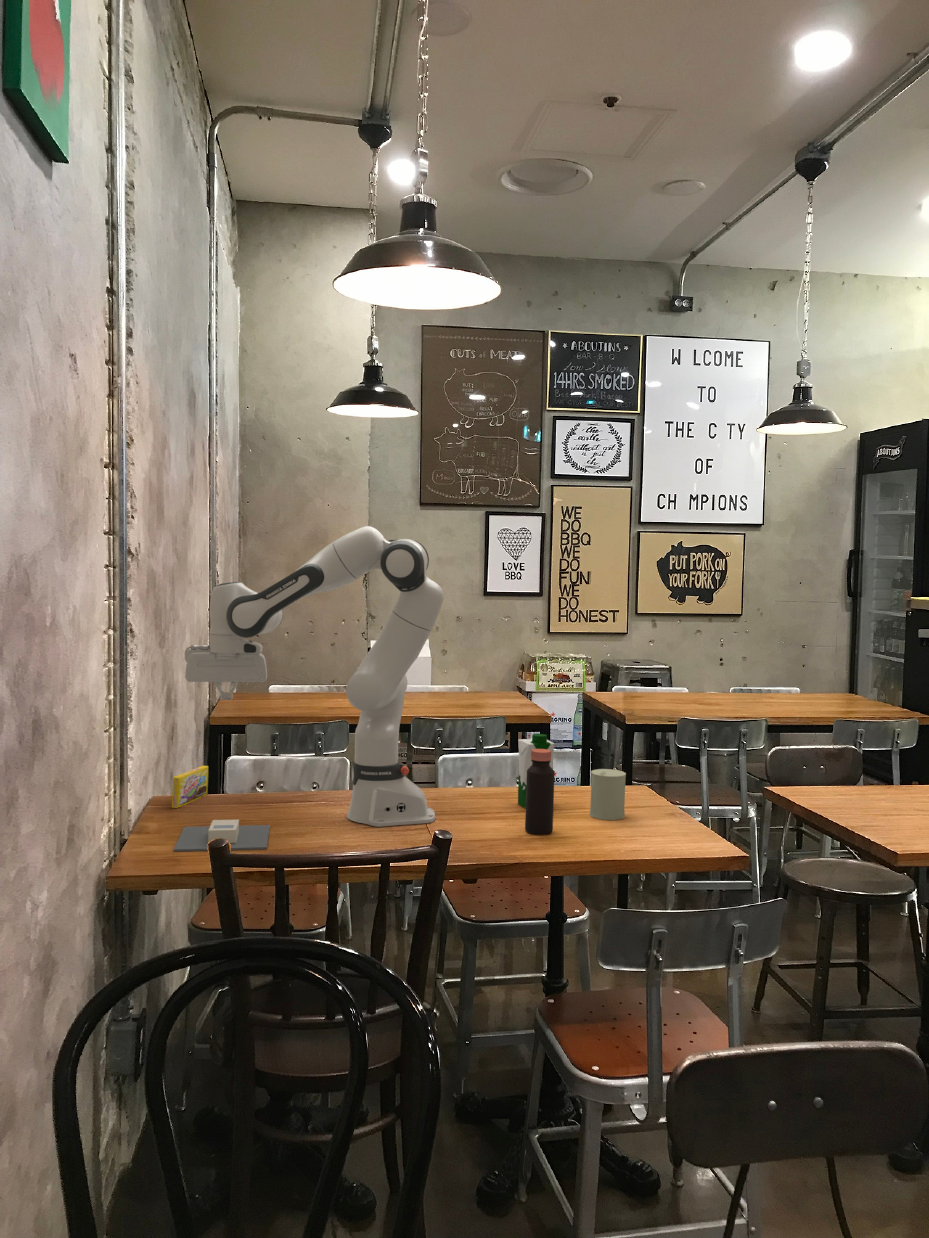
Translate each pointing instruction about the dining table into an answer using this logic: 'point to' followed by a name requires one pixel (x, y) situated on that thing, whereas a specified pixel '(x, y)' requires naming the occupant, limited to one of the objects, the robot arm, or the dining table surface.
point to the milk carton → (525, 760)
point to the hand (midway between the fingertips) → (226, 699)
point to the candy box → (189, 786)
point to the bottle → (539, 794)
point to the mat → (246, 840)
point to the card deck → (224, 830)
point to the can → (607, 794)
